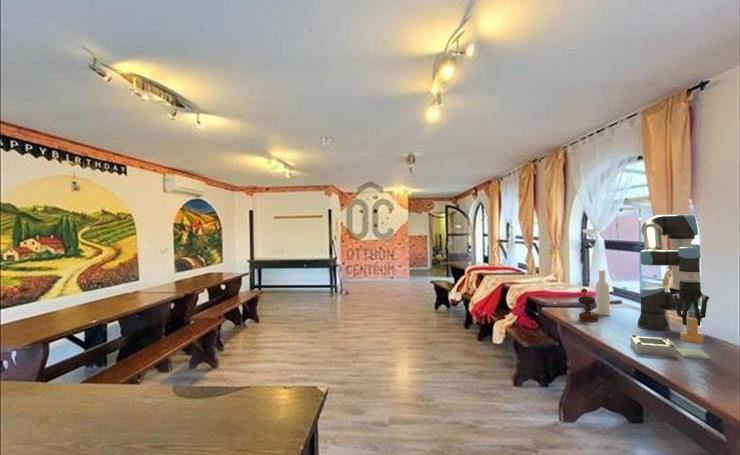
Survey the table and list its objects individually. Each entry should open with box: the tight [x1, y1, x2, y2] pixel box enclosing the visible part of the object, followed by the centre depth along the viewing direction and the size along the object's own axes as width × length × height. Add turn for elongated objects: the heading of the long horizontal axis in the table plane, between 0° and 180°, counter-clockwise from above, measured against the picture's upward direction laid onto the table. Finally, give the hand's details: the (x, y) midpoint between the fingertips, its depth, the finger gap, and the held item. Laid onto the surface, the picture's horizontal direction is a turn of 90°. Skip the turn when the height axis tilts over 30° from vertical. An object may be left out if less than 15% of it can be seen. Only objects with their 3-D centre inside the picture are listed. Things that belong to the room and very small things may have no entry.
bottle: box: [595, 268, 611, 316], centre depth 262 cm, size 8×8×30 cm
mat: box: [676, 347, 712, 360], centre depth 178 cm, size 12×10×1 cm
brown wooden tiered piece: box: [578, 287, 599, 322], centre depth 248 cm, size 15×11×20 cm
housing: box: [629, 334, 678, 358], centre depth 185 cm, size 15×15×5 cm
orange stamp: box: [679, 316, 704, 345], centre depth 178 cm, size 8×8×10 cm
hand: (691, 332), depth 178 cm, fingers closed on orange stamp, 2 cm apart
